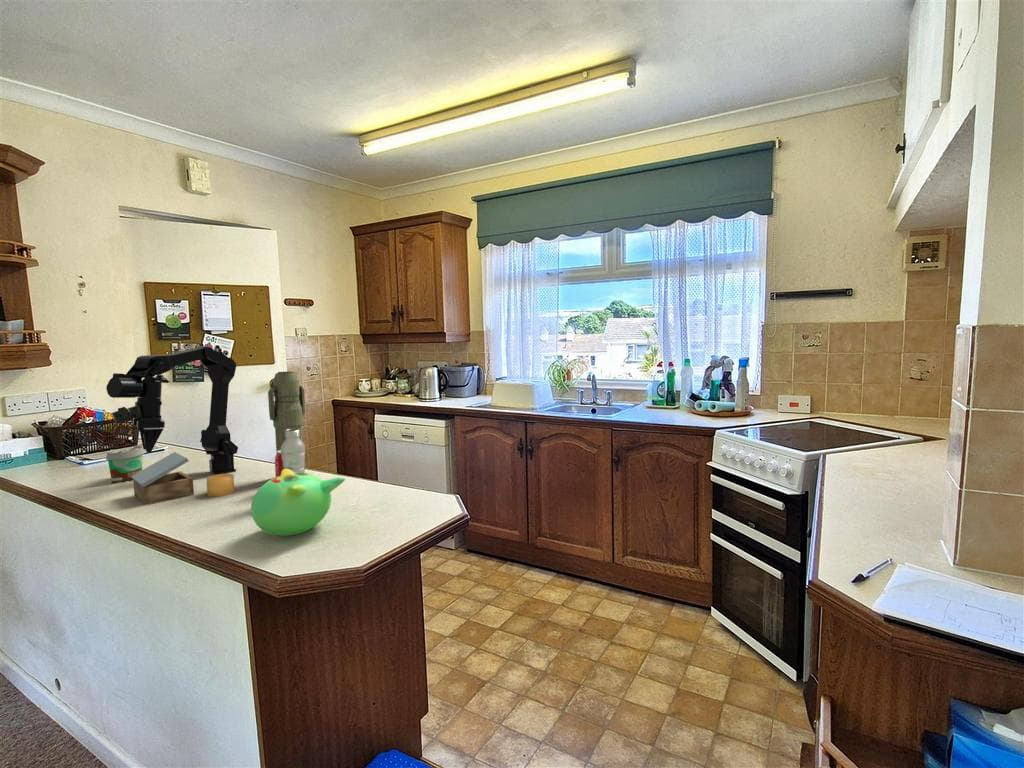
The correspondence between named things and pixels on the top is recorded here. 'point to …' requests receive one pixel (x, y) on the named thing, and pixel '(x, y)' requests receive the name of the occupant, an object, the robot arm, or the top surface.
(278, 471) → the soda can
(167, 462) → the lid
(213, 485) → the short orange cylinder
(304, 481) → the green toy creature
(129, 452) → the food container
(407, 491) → the top surface
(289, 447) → the plastic bottle
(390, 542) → the top surface
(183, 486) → the walnut box
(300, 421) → the headless coat mannequin
